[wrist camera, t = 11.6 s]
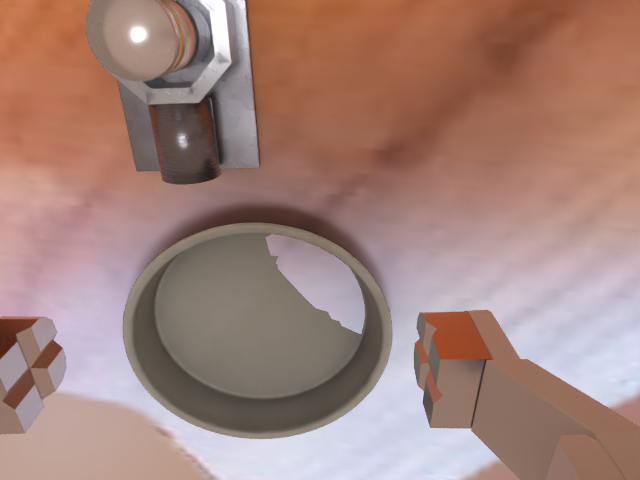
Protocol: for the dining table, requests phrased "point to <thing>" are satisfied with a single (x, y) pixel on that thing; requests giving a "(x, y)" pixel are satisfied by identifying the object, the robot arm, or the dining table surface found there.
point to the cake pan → (249, 337)
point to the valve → (146, 37)
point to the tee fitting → (198, 106)
